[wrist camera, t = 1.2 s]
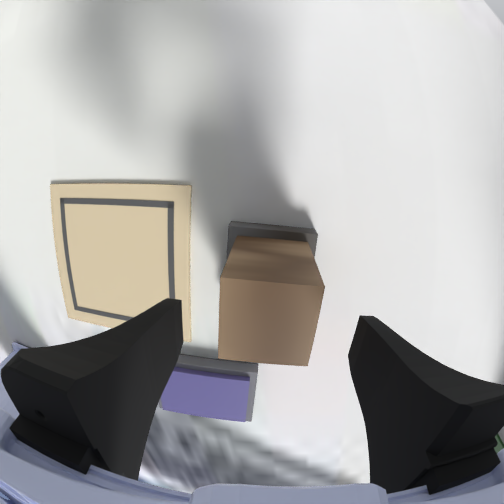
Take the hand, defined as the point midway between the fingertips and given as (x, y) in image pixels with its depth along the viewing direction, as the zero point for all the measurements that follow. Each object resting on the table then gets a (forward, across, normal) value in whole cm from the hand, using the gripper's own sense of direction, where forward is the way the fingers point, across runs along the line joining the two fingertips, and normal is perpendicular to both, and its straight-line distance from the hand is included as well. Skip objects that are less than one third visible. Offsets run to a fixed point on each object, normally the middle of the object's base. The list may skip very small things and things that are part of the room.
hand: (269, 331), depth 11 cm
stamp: (+7, 0, 0) cm, 7 cm away
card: (+7, +11, +1) cm, 13 cm away
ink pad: (+7, +4, +11) cm, 14 cm away
